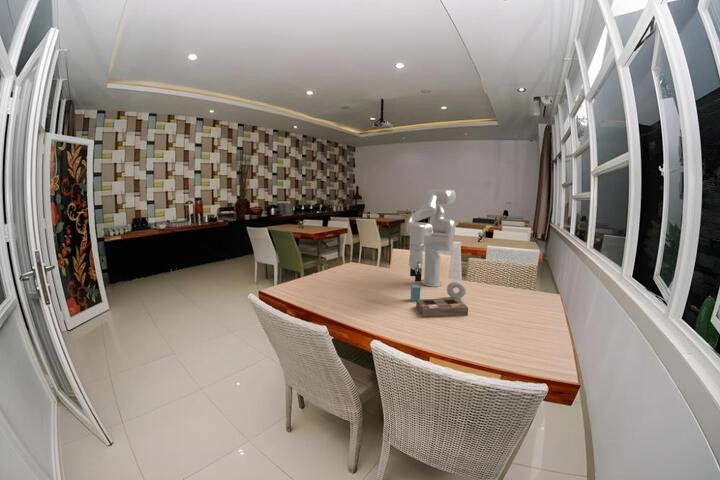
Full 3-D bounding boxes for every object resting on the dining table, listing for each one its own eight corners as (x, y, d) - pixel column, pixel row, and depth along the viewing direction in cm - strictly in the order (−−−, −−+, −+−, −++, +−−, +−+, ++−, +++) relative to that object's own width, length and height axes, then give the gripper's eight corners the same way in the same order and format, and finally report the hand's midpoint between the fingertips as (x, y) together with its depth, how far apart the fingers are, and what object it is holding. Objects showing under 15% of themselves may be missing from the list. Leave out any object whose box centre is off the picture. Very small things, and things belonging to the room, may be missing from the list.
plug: (410, 298, 158) (411, 285, 157) (417, 298, 159) (418, 284, 157) (412, 301, 154) (412, 287, 153) (419, 301, 155) (420, 287, 153)
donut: (446, 298, 158) (447, 281, 157) (446, 296, 162) (447, 279, 160) (465, 301, 155) (466, 283, 153) (465, 298, 158) (466, 281, 156)
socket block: (416, 306, 147) (416, 299, 147) (457, 305, 149) (457, 297, 148) (423, 317, 136) (423, 308, 135) (467, 315, 137) (468, 306, 137)
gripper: (405, 244, 159) (404, 274, 162) (414, 250, 142) (412, 283, 145) (418, 244, 160) (417, 274, 162) (428, 250, 143) (427, 283, 145)
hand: (415, 278), depth 154 cm, fingers open, 9 cm apart
